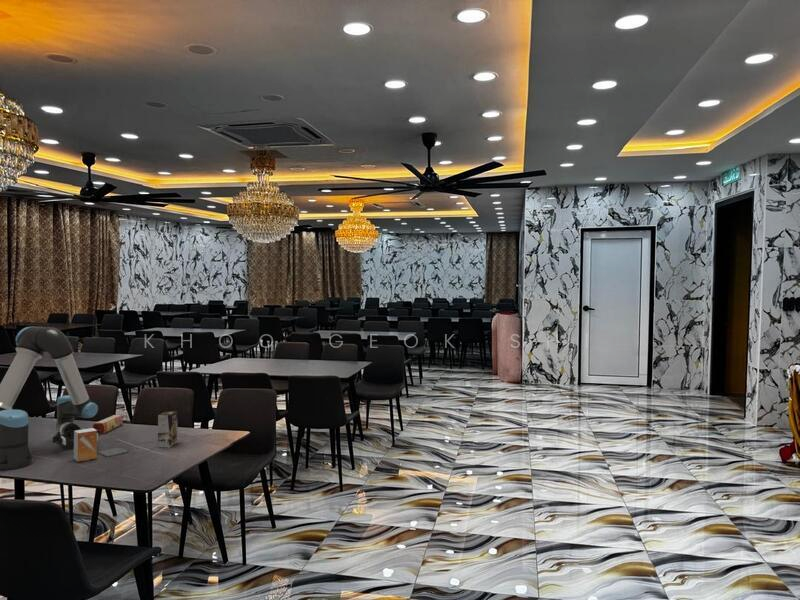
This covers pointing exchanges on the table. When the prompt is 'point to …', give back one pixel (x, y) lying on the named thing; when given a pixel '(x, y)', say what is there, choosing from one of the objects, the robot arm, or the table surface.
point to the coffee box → (167, 429)
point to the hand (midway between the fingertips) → (81, 439)
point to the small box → (85, 444)
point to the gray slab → (112, 452)
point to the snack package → (108, 423)
